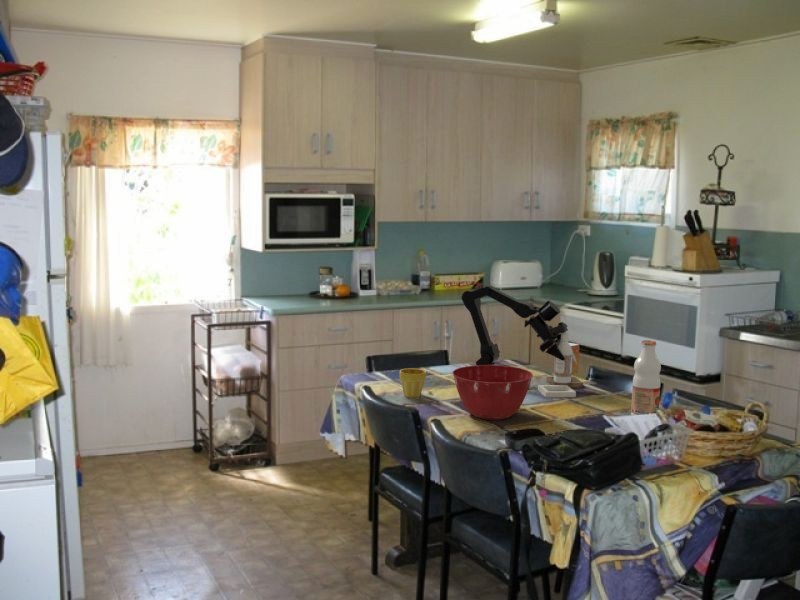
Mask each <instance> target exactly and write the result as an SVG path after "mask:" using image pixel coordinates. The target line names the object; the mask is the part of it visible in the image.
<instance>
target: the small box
mask: <svg viewBox="0 0 800 600" xmlns="http://www.w3.org/2000/svg"><path fill="white" fill-rule="evenodd" d="M568 343H569V344H570V346H571V348H572V354H573V355H572V374H571V375H574V374H578V373H579V365H580V364H579V362H580V359H579V357H580V344H579V343H573V342H568Z"/></svg>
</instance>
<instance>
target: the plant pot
mask: <svg viewBox="0 0 800 600" xmlns="http://www.w3.org/2000/svg"><path fill="white" fill-rule="evenodd" d="M399 380H400V381H401V387H402V393H403V396H404V397H406V398H414V399H415V398H419V397H421V395H422V393H423V392H422V391H423V387H424V384H425V381H426V380H427V371H426V370H425V369H423V368H422V369H421V368H409V367H408V368H402V369H400V370H399Z"/></svg>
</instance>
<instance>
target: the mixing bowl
mask: <svg viewBox="0 0 800 600" xmlns="http://www.w3.org/2000/svg"><path fill="white" fill-rule="evenodd" d="M452 375H453V378H454V383H455V387H456V390H457V393H458V396H459V398H460V401H461V402H462V404H463V406H464V408H465V410H466V411H467V412H469V413H470V414H471V415H473V417H475V418H479V419H483V420H490V421H491V420H494V421H495V420H497V421H498V420H505V419H508V418H510V417H511V416H514V415H515V414H516V413H517V412H518V411H519V409H520V408H521V406H522V404H523V402H524V400H525V398H526V396H527V394H528V391H529V388H530V385H531V382H532V379H533V377H534V374H533V372H531V371H529V369H524V368H522V367H521V368H520V367H516V366H509V365H501V364H498V365H497V364H494V365H476V364H475V365H467V366H463V367H459V368H456V369H454V370H453V371H452Z"/></svg>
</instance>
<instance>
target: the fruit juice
mask: <svg viewBox="0 0 800 600" xmlns="http://www.w3.org/2000/svg"><path fill="white" fill-rule="evenodd" d="M656 346H657V342H656V341H655V340H649V339H648V340H646V339H645V340H642V341H641V351H640V353H639V356H638V357H637V358H636V359H635V361H634V364H633V368H634V375H633V377H632V389H631V390H632V392H631V406H630V407H631V411H630V416H631V415H639V414H649V413H656V411H657V410H660V396H661V395H660V394H661V378H660V373H661V369H662V366H661V365H662V363H661V362H660V360H659V358H658V357H657V354H656Z"/></svg>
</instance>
